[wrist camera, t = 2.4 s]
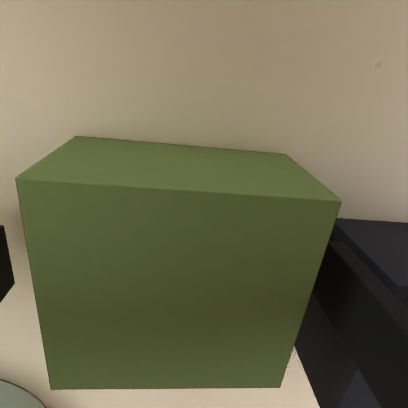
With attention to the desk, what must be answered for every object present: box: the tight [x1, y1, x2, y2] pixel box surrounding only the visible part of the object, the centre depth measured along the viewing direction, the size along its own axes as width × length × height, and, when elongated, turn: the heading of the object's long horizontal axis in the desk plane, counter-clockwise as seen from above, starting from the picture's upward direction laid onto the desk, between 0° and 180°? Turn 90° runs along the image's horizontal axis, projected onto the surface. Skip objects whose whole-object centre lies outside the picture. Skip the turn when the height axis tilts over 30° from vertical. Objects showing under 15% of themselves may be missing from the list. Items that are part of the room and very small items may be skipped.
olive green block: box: [15, 136, 341, 390], centre depth 12 cm, size 9×8×5 cm
